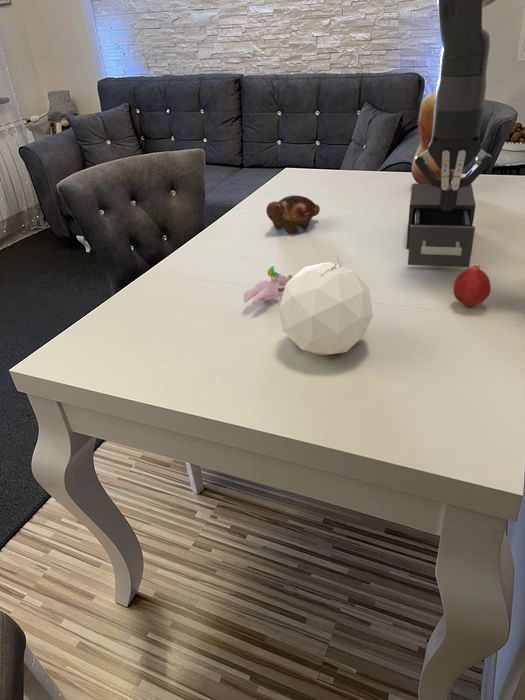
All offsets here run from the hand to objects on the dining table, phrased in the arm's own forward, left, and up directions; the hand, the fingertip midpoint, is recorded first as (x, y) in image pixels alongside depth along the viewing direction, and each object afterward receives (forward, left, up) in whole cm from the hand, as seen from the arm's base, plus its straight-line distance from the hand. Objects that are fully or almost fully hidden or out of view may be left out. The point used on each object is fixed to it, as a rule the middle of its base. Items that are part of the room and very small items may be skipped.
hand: (447, 209), depth 96 cm
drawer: (0, -6, -12) cm, 13 cm away
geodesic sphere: (+17, +29, -13) cm, 36 cm away
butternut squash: (0, -53, -13) cm, 55 cm away
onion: (-5, +13, -13) cm, 19 cm away
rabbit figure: (+30, +14, -13) cm, 36 cm away
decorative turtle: (+33, -22, -13) cm, 42 cm away
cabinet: (0, -19, -13) cm, 23 cm away
